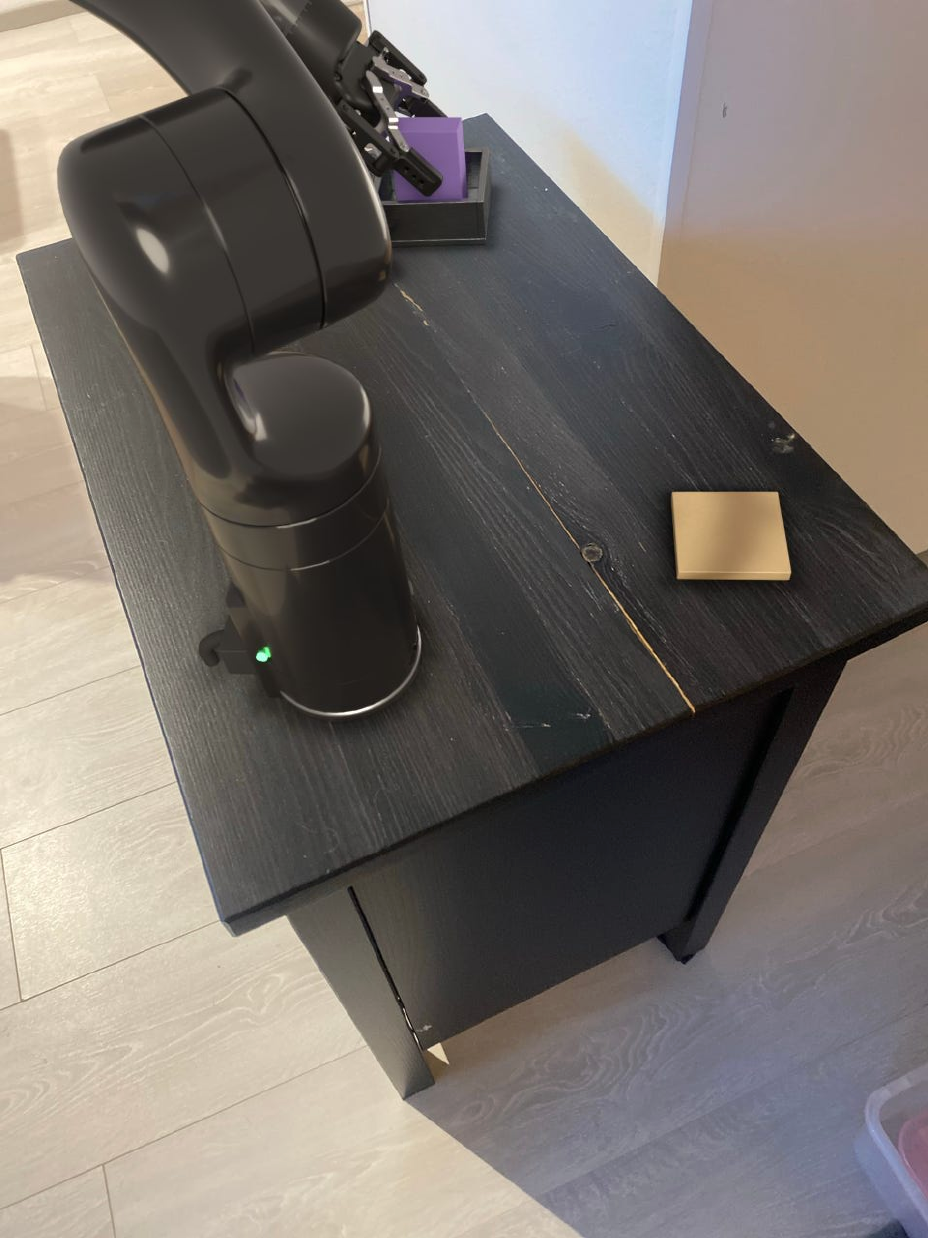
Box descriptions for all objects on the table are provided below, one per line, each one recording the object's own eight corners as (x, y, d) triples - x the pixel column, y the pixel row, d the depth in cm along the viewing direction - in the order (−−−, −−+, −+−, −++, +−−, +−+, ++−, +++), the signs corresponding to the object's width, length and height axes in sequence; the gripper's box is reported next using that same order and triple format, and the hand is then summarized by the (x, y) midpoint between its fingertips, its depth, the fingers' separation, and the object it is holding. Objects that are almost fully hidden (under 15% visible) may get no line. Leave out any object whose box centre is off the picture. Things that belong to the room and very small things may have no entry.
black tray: (375, 247, 86) (368, 204, 82) (387, 193, 91) (381, 150, 87) (485, 244, 84) (483, 201, 81) (491, 189, 90) (489, 146, 86)
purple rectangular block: (464, 220, 86) (457, 131, 80) (399, 218, 87) (387, 131, 80) (468, 204, 87) (461, 116, 81) (405, 203, 88) (393, 116, 82)
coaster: (676, 579, 61) (677, 571, 60) (670, 499, 65) (671, 491, 64) (789, 580, 60) (791, 572, 59) (775, 499, 64) (778, 491, 63)
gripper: (288, 18, 82) (432, 150, 90) (240, 98, 74) (403, 236, 82) (336, -55, 77) (484, 92, 85) (290, 23, 69) (458, 178, 77)
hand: (444, 163), depth 83 cm, fingers open, 7 cm apart
